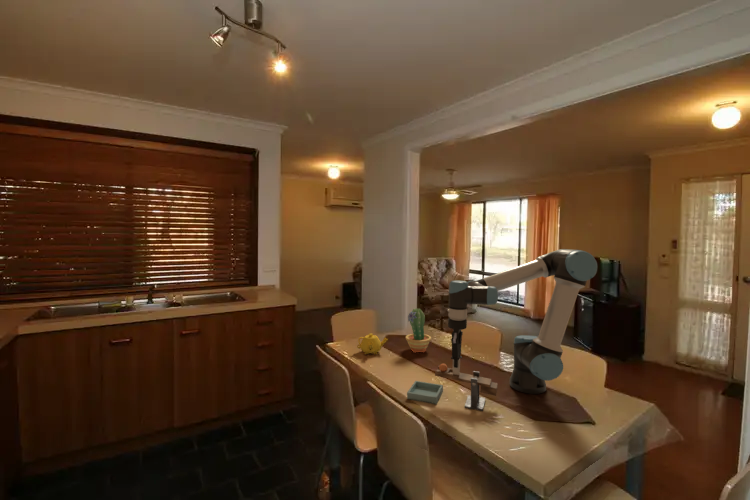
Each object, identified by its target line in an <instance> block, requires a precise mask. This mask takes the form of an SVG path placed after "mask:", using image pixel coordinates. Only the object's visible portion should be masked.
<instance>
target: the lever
mask: <svg viewBox="0 0 750 500" xmlns="http://www.w3.org/2000/svg"><path fill="white" fill-rule="evenodd" d="M437 366H438V367H437V369H436V370H435V371H434V376H437V377H440V378H446V379H450V380H454V381H458V382H463V383H468V384H471V378H476V379H477V385H479V386H480V389H479V393H481V394H486V395H491V396H495V397H496V396H497V395H498V394H497V393H498V382H494V381H492V378H488V377H483V376H480V377H479V376H476V375H475V376H474V375H473V374H469V373H463V372H460V374H459V375H455V374H453V368H451V367H448V369H447V371H446V372H441V371H440V369H439V366H440V365H437Z"/></svg>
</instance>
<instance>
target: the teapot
mask: <svg viewBox="0 0 750 500" xmlns="http://www.w3.org/2000/svg"><path fill="white" fill-rule="evenodd" d="M361 339H362V340H361ZM388 339H389V338H387V337H383V339H382V340H380V339H379V337H378V336H377V335H376V334H374V333H368V334H367V335H365V336H364V337H363V336H360V337H359V338H358V340H357V341H358V344H357V345H356V348H358V349H360V350H361V351H362V352H363V353H364V355H365V354H368V355H369V354H373V355H374V354H375V356H376V354H377V355H378V352H380V351H381V350H382V347H383V346H384V344H386V343H387V341H388ZM360 341H361V342H360Z"/></svg>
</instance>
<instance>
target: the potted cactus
mask: <svg viewBox="0 0 750 500" xmlns="http://www.w3.org/2000/svg"><path fill="white" fill-rule="evenodd" d="M407 320H408V321H407V322H409V324H410V325H411V326H410V327H411V329H412V333H409V334H407V335H405V341H407V343H408V347H409V348H410V351H411V350H412V351H413V353H416V352H423V353H425V352H427V348H428V347H429V344H430V342H431V341H432V336H430V335H428V334H426V333H425V330H424V328H425V327H424V326H425V322H426V316H425V313H424V312H423V310H422V309H421V308H413V309H412V310H411V311H410V312H409V313H408V314H407ZM412 351H411V352H412Z"/></svg>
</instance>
